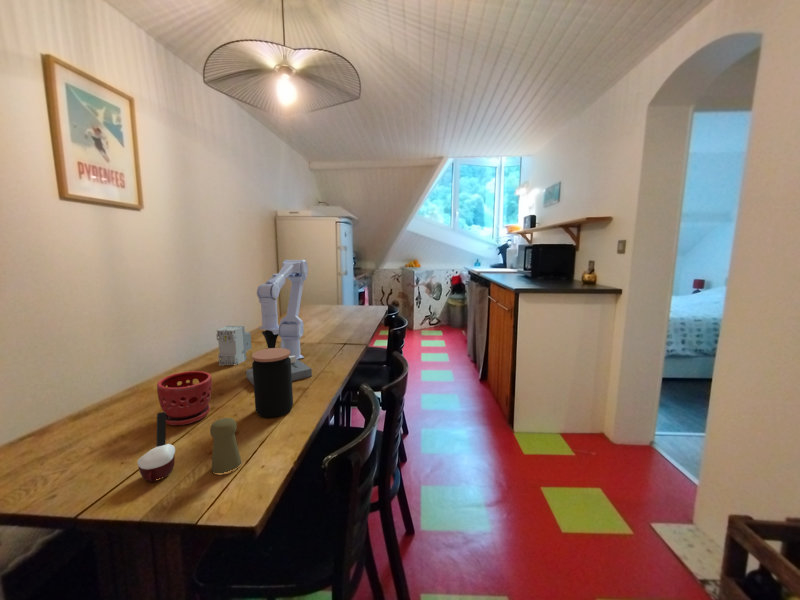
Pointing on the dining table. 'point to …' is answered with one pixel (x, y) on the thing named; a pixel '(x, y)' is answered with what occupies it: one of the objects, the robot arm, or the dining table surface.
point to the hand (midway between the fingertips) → (271, 348)
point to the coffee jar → (272, 382)
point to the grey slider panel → (297, 370)
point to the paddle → (293, 359)
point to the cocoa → (158, 455)
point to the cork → (224, 446)
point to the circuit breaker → (233, 344)
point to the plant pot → (185, 397)
